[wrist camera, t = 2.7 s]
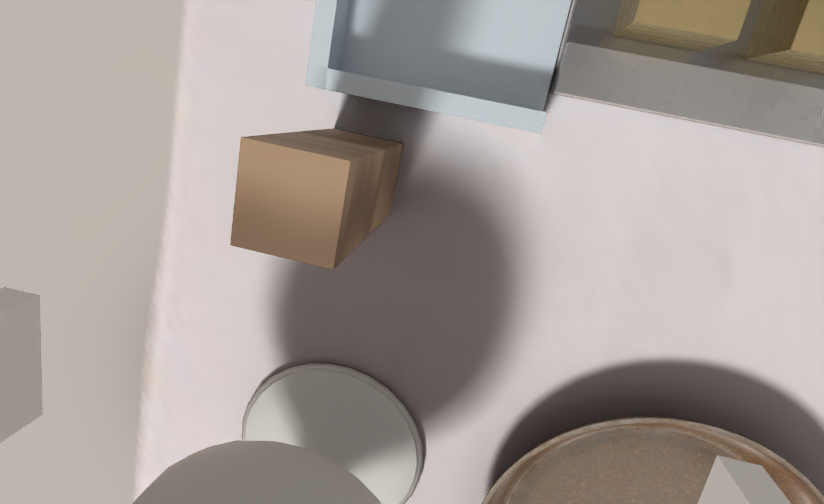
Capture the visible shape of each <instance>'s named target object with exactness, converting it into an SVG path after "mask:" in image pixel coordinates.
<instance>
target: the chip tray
mask: <svg viewBox="0 0 824 504" xmlns="http://www.w3.org/2000/svg"><path fill="white" fill-rule="evenodd" d="M571 1H572V0H316V7H315V15H314V23H313V30H312V38H311V46H310V54H309V61H308V69H307V77H306V86H311V87H316V88H321V89H326V90H331V91H336V92H340V93H345V94H350V95H355V96H360V97H365V98H370V99H375V100H379V101H384V102H389V103H394V104H399V105H404V106H409V107H414V108H418V109H423V110H428V111H433V112H438V113H443V114H448V115H453V116H457V117H462V118H467V119H472V120H477V121H482V122H487V123H491V124H496V125H501V126H506V127H511V128H516V129H521V130H526V131H530V132H535V133H540V134H541V132H542V128H543V124H544V121H545V117H546V113H547V112H543V109H544V105H545V102H546V98H547V94H548V90H549V86H550V82H551V78H552V74H553V71H554V67H555V63H556V59H557V55H558V51H559V47H560V43H561V40H562V36H563V32H564V28H565V24H566V20H567V16H568V12H569V9H570V5H571Z"/></svg>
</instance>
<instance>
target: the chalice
mask: <svg viewBox="0 0 824 504" xmlns="http://www.w3.org/2000/svg"><path fill="white" fill-rule="evenodd" d="M422 464H423V453H422V442H421V439H420V436H419V433H418V430H417V427H416V424H415V422H414V420H413V418H412V417H411V415H410V414H409V412H408V410H407V409H406V407H405V406H404V404H403V403H402V402H401V401H400V400H399V399H398V398H397V397H396V396H395V395H394V394H393V393H392V392H391V391H390V390H389V389H388V388H386V387H385V386H384V385H382V384H381V383H379V382H378V381H376V380H375V379H373V378H372V377H370V376H368V375H366V374H363V373H361V372H359V371H356V370H354V369H352V368H348V367H343V366H339V365H334V364H304V365H300V366H295V367H291V368H288V369H286V370H284V371H282V372H280V373H278V374H276V375H274V376H272V377H271V378H270V379H268V380H267V381H266V382H265V383H264V384H263V385H261V386H260V387H259V388H258V389H257V391H256V392H255V394H254V395H253V397H252V398H251V400H250V401H249V403H248V406H247V409H246V412H245V415H244V418H243V426H242V441H233V442H228V443H224V444H220V445H215V446H211V447H208V448H205V449H203V450H201V451H198V452H196V453H194V454H192V455H190V456H188V457H186V458H185V459H183V460H181V461H179V462H177V463H175V464H174V465H172V466H170V467H168V468H167V469H166V470H165V471H164V472H163V473H162V474H161V475H160V476H159V477H158V478H157V479H156V480H155V481H154V482H153V483H152V484H151V485H150V486H149V487H148V488H147V489H146V490H145V491H144V492H143V493H142V494H141V495H140V496H139V497H138V498H137V499H136V500H135V501H134V503H133V504H405V502H406V501H407V500H408V499H409V498H410V497H411V496H412V494H413V492H414V490H415V488H416V486H417V484H418V482H419V480H420V476H421V470H422Z"/></svg>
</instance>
